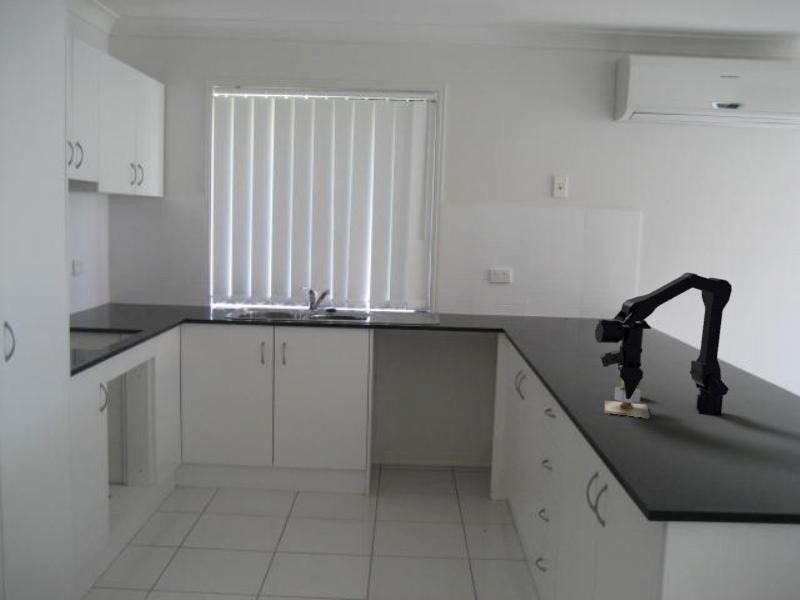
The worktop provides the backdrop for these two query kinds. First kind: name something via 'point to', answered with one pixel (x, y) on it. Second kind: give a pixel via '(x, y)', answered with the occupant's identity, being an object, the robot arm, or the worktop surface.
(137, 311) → the worktop surface
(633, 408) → the post stand
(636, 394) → the ring
